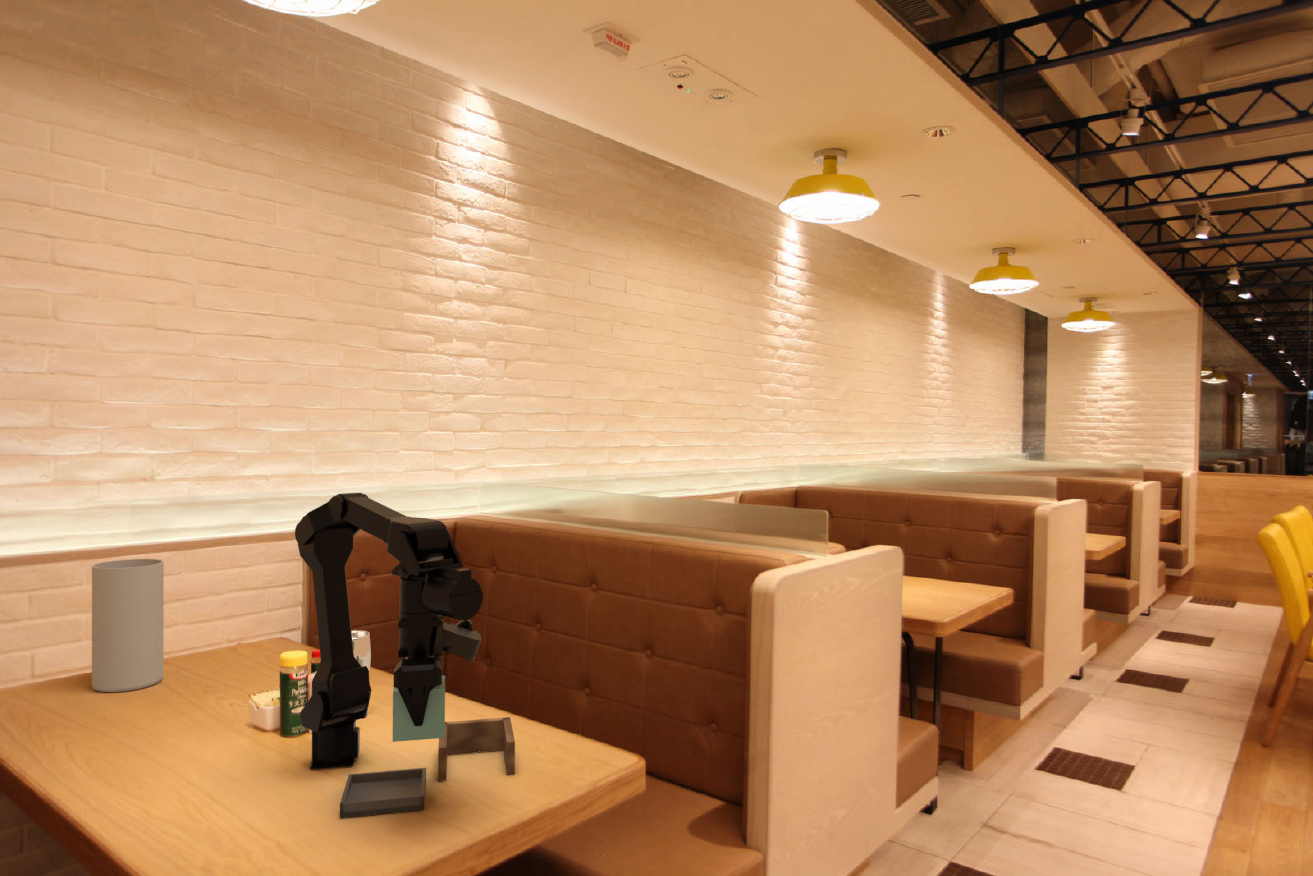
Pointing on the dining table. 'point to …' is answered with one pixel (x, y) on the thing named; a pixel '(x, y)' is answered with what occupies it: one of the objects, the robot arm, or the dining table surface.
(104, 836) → the dining table surface
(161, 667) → the cylinder vase
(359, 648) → the beer glass
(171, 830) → the dining table surface
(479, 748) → the frame
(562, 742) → the dining table surface
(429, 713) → the teal block
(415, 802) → the gray tray
